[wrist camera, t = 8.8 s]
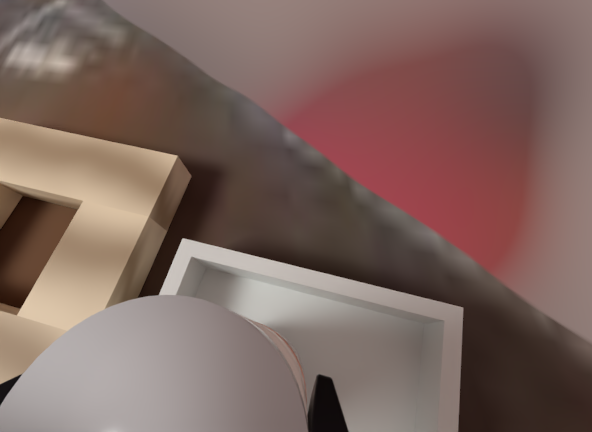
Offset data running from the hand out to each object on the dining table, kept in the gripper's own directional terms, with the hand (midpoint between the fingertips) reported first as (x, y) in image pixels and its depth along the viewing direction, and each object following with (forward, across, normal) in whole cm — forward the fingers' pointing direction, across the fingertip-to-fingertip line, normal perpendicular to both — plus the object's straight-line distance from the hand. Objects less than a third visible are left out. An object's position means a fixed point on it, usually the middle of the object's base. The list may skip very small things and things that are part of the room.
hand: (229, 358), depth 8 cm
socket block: (+8, +16, +5) cm, 18 cm away
